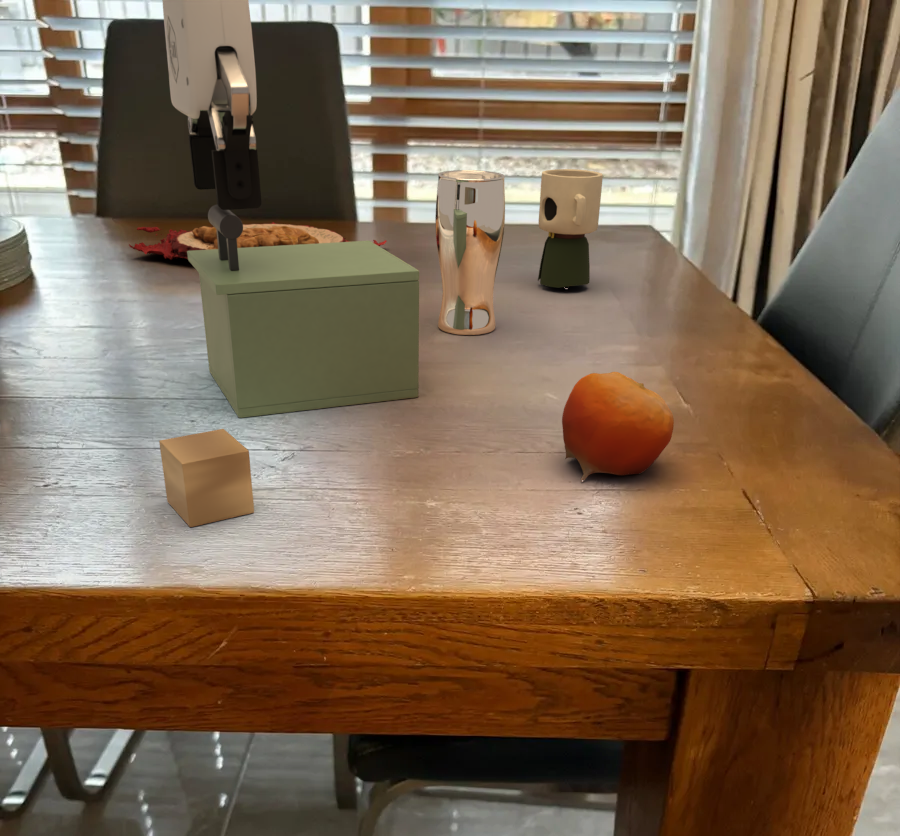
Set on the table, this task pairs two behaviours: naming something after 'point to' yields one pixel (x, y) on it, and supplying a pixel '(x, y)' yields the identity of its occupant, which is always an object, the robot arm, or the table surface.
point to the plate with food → (250, 237)
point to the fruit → (615, 425)
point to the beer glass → (469, 247)
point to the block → (207, 477)
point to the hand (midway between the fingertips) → (226, 197)
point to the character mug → (568, 224)
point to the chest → (313, 346)
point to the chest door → (291, 263)
